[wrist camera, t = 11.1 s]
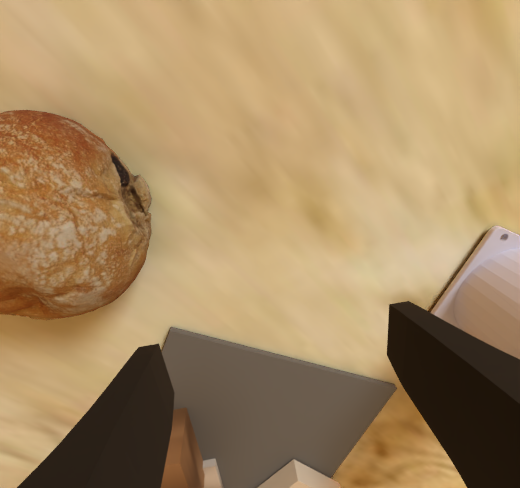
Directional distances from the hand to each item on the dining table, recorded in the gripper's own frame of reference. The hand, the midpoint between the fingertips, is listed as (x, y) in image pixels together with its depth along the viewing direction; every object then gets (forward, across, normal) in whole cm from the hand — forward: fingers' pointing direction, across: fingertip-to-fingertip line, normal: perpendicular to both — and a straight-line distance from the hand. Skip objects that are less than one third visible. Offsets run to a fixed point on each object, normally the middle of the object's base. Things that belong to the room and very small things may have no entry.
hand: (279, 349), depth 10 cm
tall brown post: (+9, +8, +19) cm, 23 cm away
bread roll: (+10, +10, -3) cm, 15 cm away
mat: (+10, +4, +20) cm, 22 cm away
